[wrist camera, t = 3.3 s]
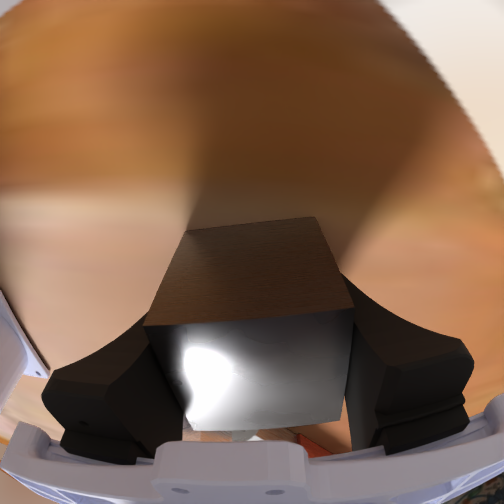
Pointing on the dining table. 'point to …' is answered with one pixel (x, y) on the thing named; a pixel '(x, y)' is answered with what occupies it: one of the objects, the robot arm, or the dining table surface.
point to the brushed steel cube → (254, 326)
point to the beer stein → (483, 493)
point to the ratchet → (253, 437)
